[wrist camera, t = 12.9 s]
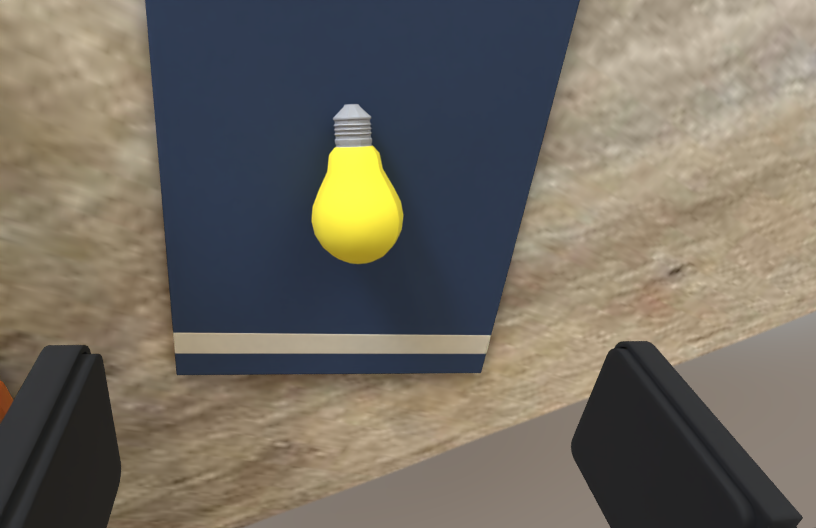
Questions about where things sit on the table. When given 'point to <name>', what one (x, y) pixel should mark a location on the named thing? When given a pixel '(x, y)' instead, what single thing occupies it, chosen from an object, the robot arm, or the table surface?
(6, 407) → the cheeseburger
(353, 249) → the light bulb
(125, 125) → the table surface
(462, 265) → the dish cloth
